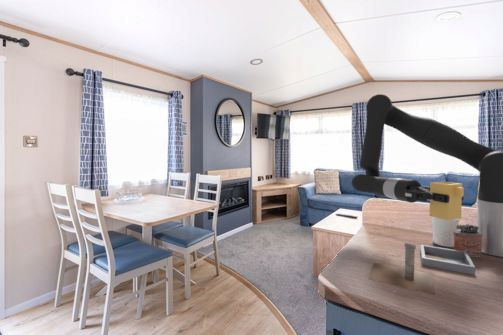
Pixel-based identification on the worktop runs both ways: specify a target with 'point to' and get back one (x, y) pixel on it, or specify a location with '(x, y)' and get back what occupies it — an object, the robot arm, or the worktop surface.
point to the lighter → (468, 240)
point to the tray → (448, 259)
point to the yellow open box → (453, 206)
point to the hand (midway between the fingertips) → (455, 198)
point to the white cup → (444, 231)
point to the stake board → (404, 273)
